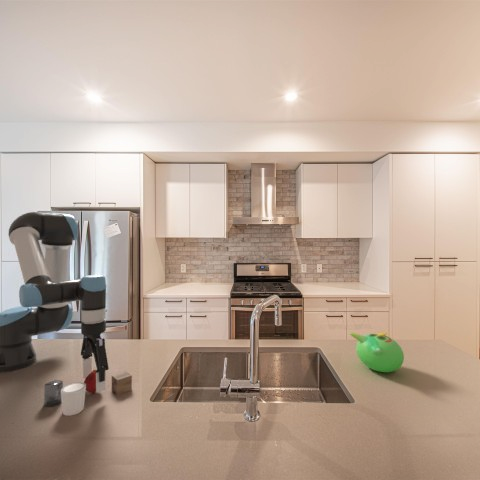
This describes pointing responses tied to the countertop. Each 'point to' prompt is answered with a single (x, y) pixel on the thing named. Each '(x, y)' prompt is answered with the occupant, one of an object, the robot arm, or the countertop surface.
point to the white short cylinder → (73, 398)
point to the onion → (91, 382)
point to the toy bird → (379, 352)
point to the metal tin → (52, 393)
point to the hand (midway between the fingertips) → (93, 383)
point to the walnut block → (121, 382)
